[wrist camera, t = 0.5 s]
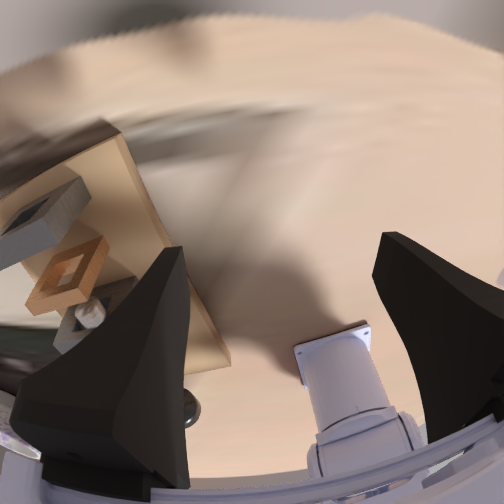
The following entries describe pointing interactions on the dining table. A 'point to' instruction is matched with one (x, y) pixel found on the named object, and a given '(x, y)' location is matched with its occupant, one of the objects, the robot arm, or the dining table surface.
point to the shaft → (94, 315)
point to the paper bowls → (4, 434)
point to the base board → (117, 234)
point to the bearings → (61, 259)
